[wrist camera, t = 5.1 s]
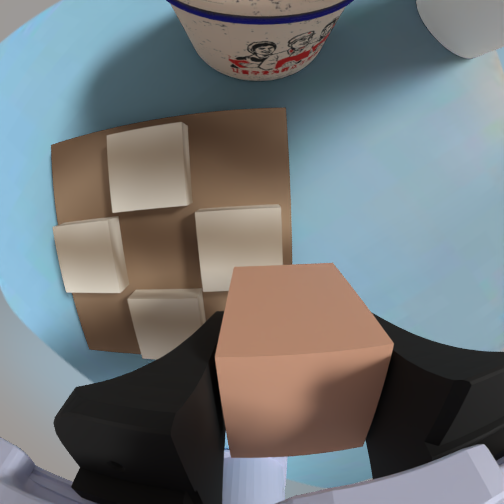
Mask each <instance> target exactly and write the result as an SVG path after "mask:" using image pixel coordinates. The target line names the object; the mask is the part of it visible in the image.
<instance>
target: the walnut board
mask: <svg viewBox="0 0 504 504" xmlns="http://www.w3.org/2000/svg"><path fill="white" fill-rule="evenodd" d="M51 156H52V174H53V187H54V197H55V206H56V214H57V221H58V225H57V226H54V227H53V233H54V239H55V244H56V250H57V255H58V260H59V264H60V269H61V273H62V277H63V282H64V286H65V289H66V292H68V293H72V295H73V298H74V302H75V306H76V309H77V312H78V316H79V319H80V322H81V326H82V329H83V332H84V335H85V338H86V341H87V344H88V347H89V349H91V350H100V351H110V352H121V353H133V354H141V355H142V358H143V359H159V358H161V357H162V356H164V355H166V354H167V353H169V352H170V351H172V350H173V349H175V348H176V347H177V346H179V345H180V344H181V343H182V342H184V341H185V340H186V339H187V338H189V337H190V336H191V335H192V334H193V333H194V332H195V331H197V330H198V329H199V328H200V327H201V326H202V325H203V324H204V323H205V322H206V321H207V320H208V319H209V318H210V317H211V316H212V315H213V314H214V313H215V312H216V311H225V306H226V301H227V297H228V292H229V287H230V283H231V278H232V273H233V269H234V267H243V266H271V265H292V229H291V197H290V173H289V152H288V135H287V119H286V108H257V109H239V110H226V111H215V112H205V113H196V114H188V115H181V116H174V117H167V118H161V119H155V120H149V121H144V122H139V123H134V124H129V125H124V126H119V127H115V128H111V129H106V130H102V131H98V132H94V133H90V134H87V135H83V136H79V137H76V138H72V139H69V140H65V141H62V142H59V143H56V144H53V145H51Z"/></svg>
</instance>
